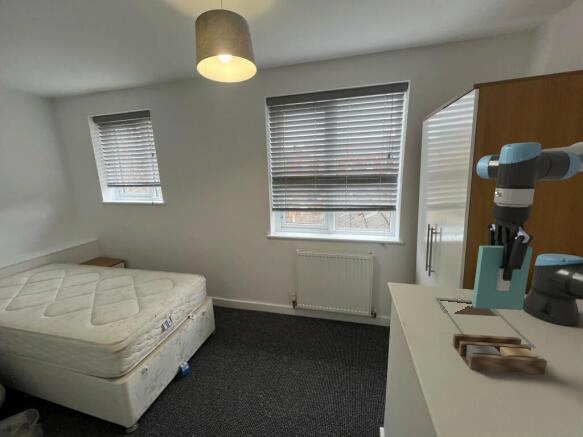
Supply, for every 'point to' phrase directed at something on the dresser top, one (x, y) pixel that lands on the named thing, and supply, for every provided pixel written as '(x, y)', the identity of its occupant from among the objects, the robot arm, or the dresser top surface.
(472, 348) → the offcut charcoal
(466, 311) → the framed cork board
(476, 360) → the rack
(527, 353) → the offcut oak
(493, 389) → the dresser top surface
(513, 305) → the teal rectangular slab
